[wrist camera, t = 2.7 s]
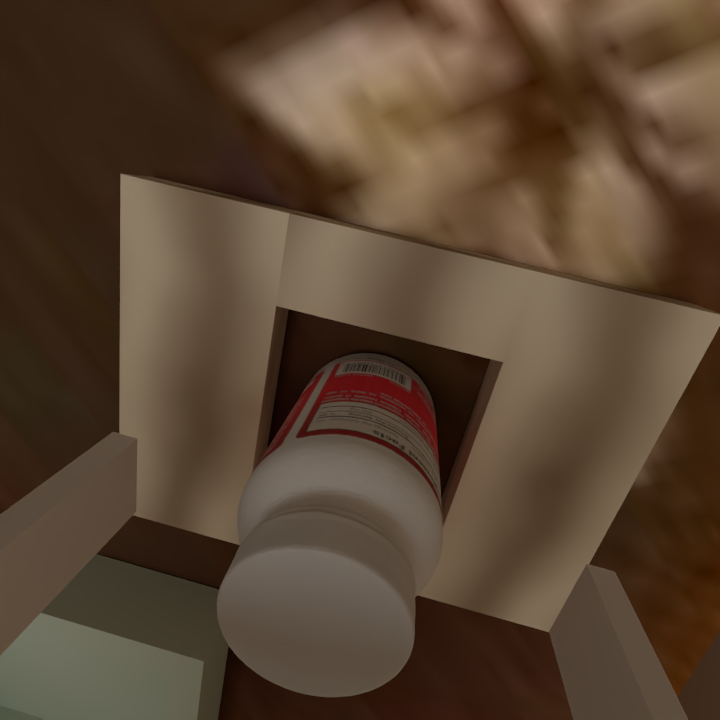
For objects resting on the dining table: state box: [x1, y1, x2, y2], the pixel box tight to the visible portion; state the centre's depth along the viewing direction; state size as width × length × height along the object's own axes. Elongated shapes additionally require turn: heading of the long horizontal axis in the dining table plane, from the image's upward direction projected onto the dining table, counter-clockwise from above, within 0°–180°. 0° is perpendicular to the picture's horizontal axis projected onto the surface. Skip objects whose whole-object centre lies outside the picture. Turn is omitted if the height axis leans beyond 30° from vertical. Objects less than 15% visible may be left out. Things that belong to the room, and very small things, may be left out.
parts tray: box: [0, 554, 229, 720], centre depth 27 cm, size 18×18×4 cm
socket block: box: [119, 174, 720, 632], centre depth 19 cm, size 22×16×2 cm
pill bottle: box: [217, 353, 443, 697], centre depth 15 cm, size 6×6×11 cm
